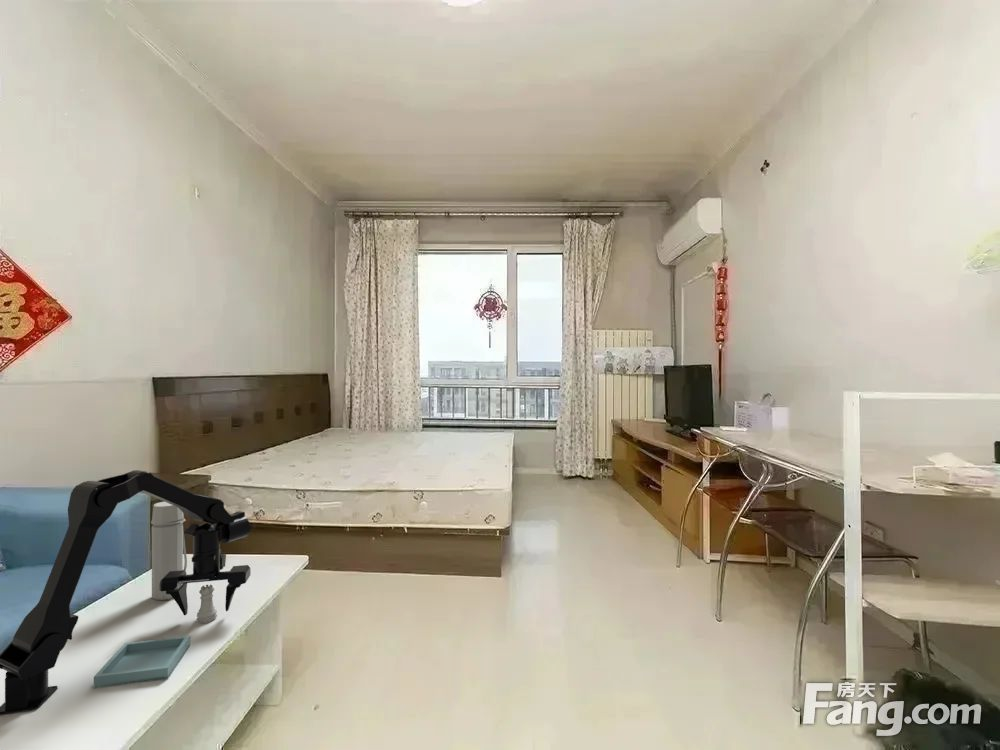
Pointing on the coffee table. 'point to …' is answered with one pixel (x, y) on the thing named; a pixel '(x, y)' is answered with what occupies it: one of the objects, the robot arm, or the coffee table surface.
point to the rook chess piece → (206, 605)
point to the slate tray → (142, 662)
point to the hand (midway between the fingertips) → (206, 612)
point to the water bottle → (166, 545)
